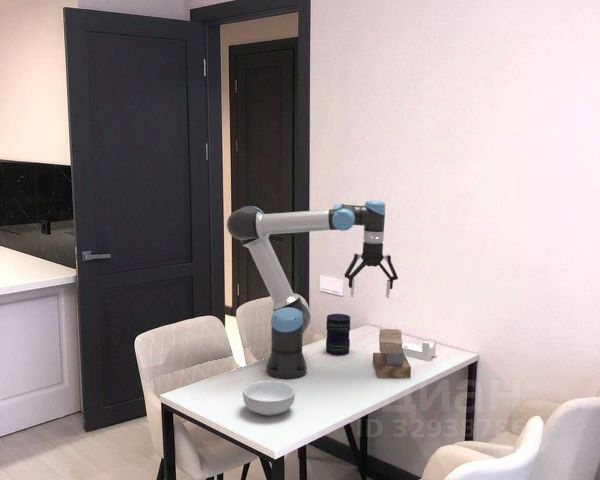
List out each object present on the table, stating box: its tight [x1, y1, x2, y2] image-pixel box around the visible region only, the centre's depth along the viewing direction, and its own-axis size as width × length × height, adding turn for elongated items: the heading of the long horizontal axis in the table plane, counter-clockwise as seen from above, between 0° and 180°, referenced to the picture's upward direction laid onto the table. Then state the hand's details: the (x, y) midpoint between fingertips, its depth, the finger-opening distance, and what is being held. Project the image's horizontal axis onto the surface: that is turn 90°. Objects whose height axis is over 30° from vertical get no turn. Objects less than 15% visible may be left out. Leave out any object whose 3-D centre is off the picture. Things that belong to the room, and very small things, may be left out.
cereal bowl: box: [242, 380, 296, 417], centre depth 212 cm, size 17×17×7 cm
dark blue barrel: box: [325, 313, 351, 357], centre depth 270 cm, size 10×10×15 cm
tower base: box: [372, 352, 412, 379], centre depth 251 cm, size 12×16×5 cm
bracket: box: [402, 337, 437, 362], centre depth 268 cm, size 13×7×8 cm, turn 54°
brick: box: [378, 328, 403, 354], centre depth 249 cm, size 16×8×5 cm, turn 173°
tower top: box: [385, 348, 404, 366], centre depth 250 cm, size 6×13×5 cm, turn 176°
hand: (369, 296), depth 251 cm, fingers open, 13 cm apart
